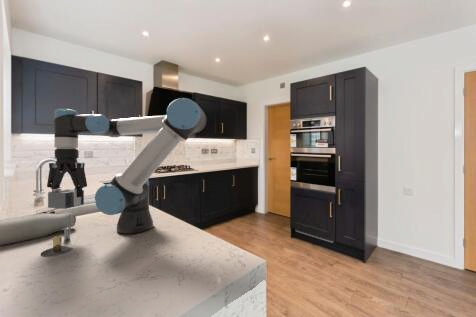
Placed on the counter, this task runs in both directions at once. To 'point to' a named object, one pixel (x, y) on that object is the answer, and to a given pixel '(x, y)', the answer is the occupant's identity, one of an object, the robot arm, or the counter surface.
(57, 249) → the hub
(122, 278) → the counter surface
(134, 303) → the counter surface
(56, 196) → the collar
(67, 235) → the stand
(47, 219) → the grey cylindrical pipe
